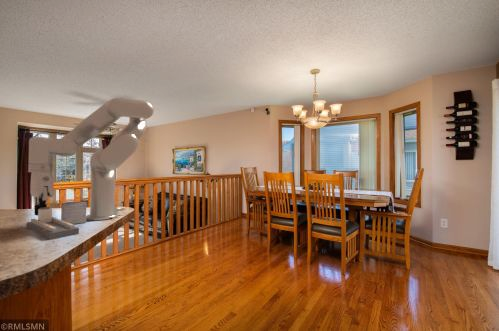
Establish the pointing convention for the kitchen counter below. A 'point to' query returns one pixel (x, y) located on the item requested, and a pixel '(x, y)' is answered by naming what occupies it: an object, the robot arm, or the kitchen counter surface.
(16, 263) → the kitchen counter surface
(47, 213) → the fader tab
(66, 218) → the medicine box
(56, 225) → the console board
